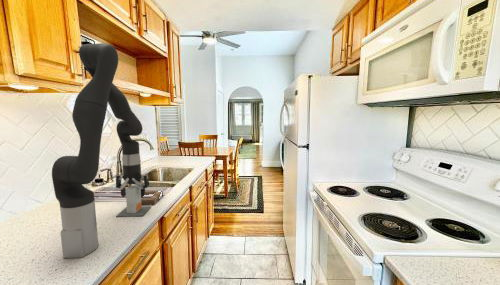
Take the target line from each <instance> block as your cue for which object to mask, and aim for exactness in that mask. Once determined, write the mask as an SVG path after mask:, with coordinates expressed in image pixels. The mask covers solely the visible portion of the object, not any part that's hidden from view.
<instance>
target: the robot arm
mask: <svg viewBox="0 0 500 285" xmlns="http://www.w3.org/2000/svg"><path fill="white" fill-rule="evenodd" d="M78 56H79V58H80V61H81V63H82V65H83V67H84V68H85V70H87V72H88V73H89V75H90V76H91V79H90V80H89V82H88V83H87V84H86V85H85V86H84V87H83V88H82V89H81V90H80V91H79V93H78V94H77V96H76V98H75V100H74V104H73V108H72V112H71V113H72V116H71V117H72V121H73V125H74V126H75V128H76V131H77V133H78V135H79V136H78V137H79V140H80V142H79V143H80V145H79V149H78V150H79V151H78V154H77V155H64V156H61V157H59V158H57V159H56V160H55V161H54V162H53V165H52V167H51V168H52V169H51V178H52V179H51V180H52V185H53V191H54V195H55V198H56V200H57V201H58V202H59V210H60V218H61V229H62V230H60V239H61V249H62V250H61V251H62V258H63V259H75V258H84V257H85V256H86V255H88V254H91V253H92V252H94V251H95V250H97V248H98V247H99V236H98V226H97V225H98V224H97V212H96V201H95V200H96V199H95V193H94V191H92V190H90V189H88V188H87V187H85V186H84V185H88V184H91V183H92V182H94V180H95V179H96V177H97V175H98V172H99V165H100V153H101V142H102V137H103V136H102V135H103V128H104V125H105V124H104V123H105V119H106V114H107V110H108V105H109V108H110V110H111V111H112V114H113V115H114V118H117V119H118V120H119V121H118V122H117V124H116V129H115V130H116V134H117V137H118V138H119V142H120V145H121V152H122V155H121V160H122V165H121V166H122V174H123V175H122V174H118V175H115V188H116V189H120V195H121V197H123V198H124V197H125V198H126V189H127V188H126V187H127V185H130V186H131V185H138V186H139V187H140V188H141V197H143V196H144V195H145V191H146V189H148V187H149V186H150V178H149V174H147V173H146V174H142V163H141V162H142V160H141V155H140V143H139V142H138V141H137V140H134V139H132V137H133V136H134V137H136V136H138V137H139V136H140V135H141V134H142V132H143V124H142V122H141V120H140V119H139V118H138V117H137V115H136V114H135V113H134V112H133V110H132V108H131V105H130V104H129V101H128V99H127V97H126V95H124V93H123V92H122V90H120V89H119V88H118V86H116V85H115V84H114V80H115V75H116V72H117V70H118V65H119V54H118V52H117V49H116V48H115V47H114V46H113V45H112V44H109V43H104V42H103V43H101V42H100V43H86V44H85V43H84V44H82V45H80V47H79V49H78ZM122 180H123V181H124V182H122Z"/></svg>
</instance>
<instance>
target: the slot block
mask: <svg viewBox="0 0 500 285" xmlns="http://www.w3.org/2000/svg"><path fill="white" fill-rule="evenodd" d="M158 191H159V190H145V195H149V194H154V193H155V194H154V195H153V196H152V197H146V198H141V206H155V205H156V204H157V203H158V201H159V200H160V199H159V197H160V194H161V192H162V193H163V190H160V191H161V192H158Z"/></svg>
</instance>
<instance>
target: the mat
mask: <svg viewBox="0 0 500 285" xmlns="http://www.w3.org/2000/svg"><path fill="white" fill-rule="evenodd" d="M151 208H152V205H143V206H142V208H141V209H140V210H139V211H138V212H136V213H127V206H126V207H124V208H123V209H122V210H121V211H120V212H119V213H117V214H116V215H115V217H116V218H131V217H133V218H134V217H136V218H137V217H139V218H140V217H144V216H145V215H146V214H147V213H148V212H149V210H150V209H151Z"/></svg>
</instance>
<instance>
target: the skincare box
mask: <svg viewBox="0 0 500 285" xmlns="http://www.w3.org/2000/svg"><path fill="white" fill-rule="evenodd" d="M125 199H126V202H125V203H126V207H127V213H136V212H138V211H139V210H140V209H141V208H142V206H141V188H140V187H139V186H138V185H137V184H131V185H130V186H129V187H127V188H126V196H125Z"/></svg>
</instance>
